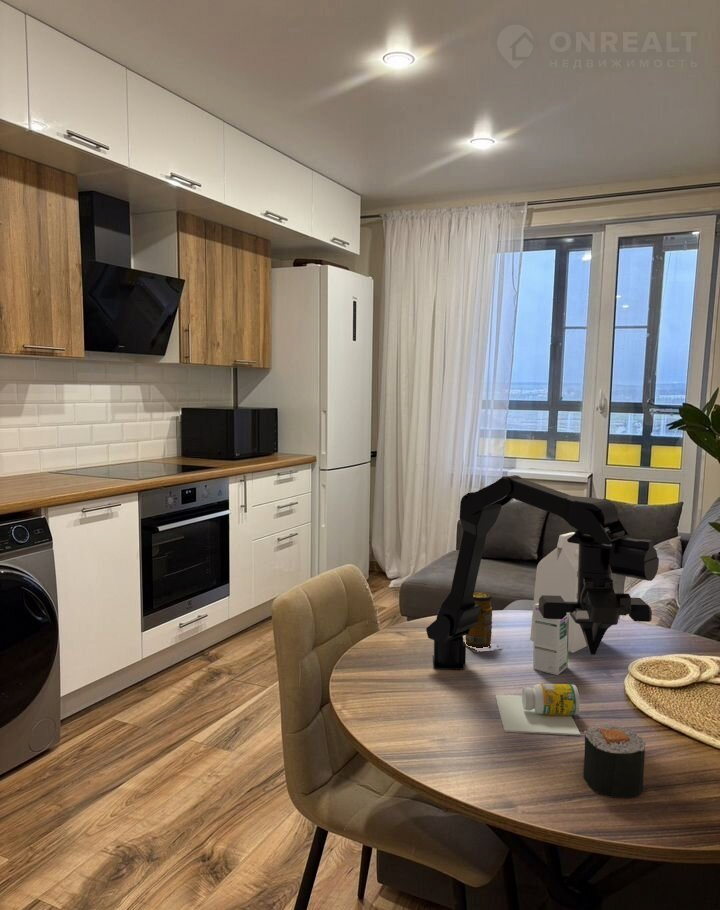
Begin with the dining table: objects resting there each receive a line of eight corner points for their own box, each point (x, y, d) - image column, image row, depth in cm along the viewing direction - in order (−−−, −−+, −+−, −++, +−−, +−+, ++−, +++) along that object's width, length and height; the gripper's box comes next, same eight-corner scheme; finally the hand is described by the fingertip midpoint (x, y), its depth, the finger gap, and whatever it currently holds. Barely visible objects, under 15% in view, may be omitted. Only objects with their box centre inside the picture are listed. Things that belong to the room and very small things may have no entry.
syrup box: (558, 676, 141) (560, 609, 140) (531, 669, 144) (533, 603, 143) (568, 667, 145) (570, 602, 144) (542, 660, 149) (544, 597, 148)
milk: (556, 627, 170) (560, 527, 168) (599, 640, 162) (603, 534, 160) (530, 638, 162) (533, 533, 160) (573, 652, 154) (577, 541, 152)
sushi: (652, 797, 98) (655, 745, 98) (597, 799, 98) (600, 747, 97) (626, 767, 106) (628, 719, 106) (575, 769, 106) (577, 720, 105)
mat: (504, 731, 117) (504, 730, 117) (495, 696, 131) (495, 694, 131) (580, 735, 116) (580, 733, 116) (562, 699, 130) (562, 697, 130)
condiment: (483, 637, 163) (485, 589, 162) (502, 650, 155) (504, 599, 154) (457, 641, 161) (458, 592, 160) (475, 653, 153) (476, 602, 152)
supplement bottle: (572, 679, 126) (521, 677, 126) (580, 692, 120) (527, 690, 121) (571, 706, 126) (520, 705, 127) (579, 721, 121) (526, 719, 121)
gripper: (550, 580, 113) (548, 670, 114) (664, 583, 111) (661, 674, 113) (538, 564, 124) (537, 646, 125) (642, 566, 123) (639, 649, 124)
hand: (592, 654), depth 122 cm, fingers closed
